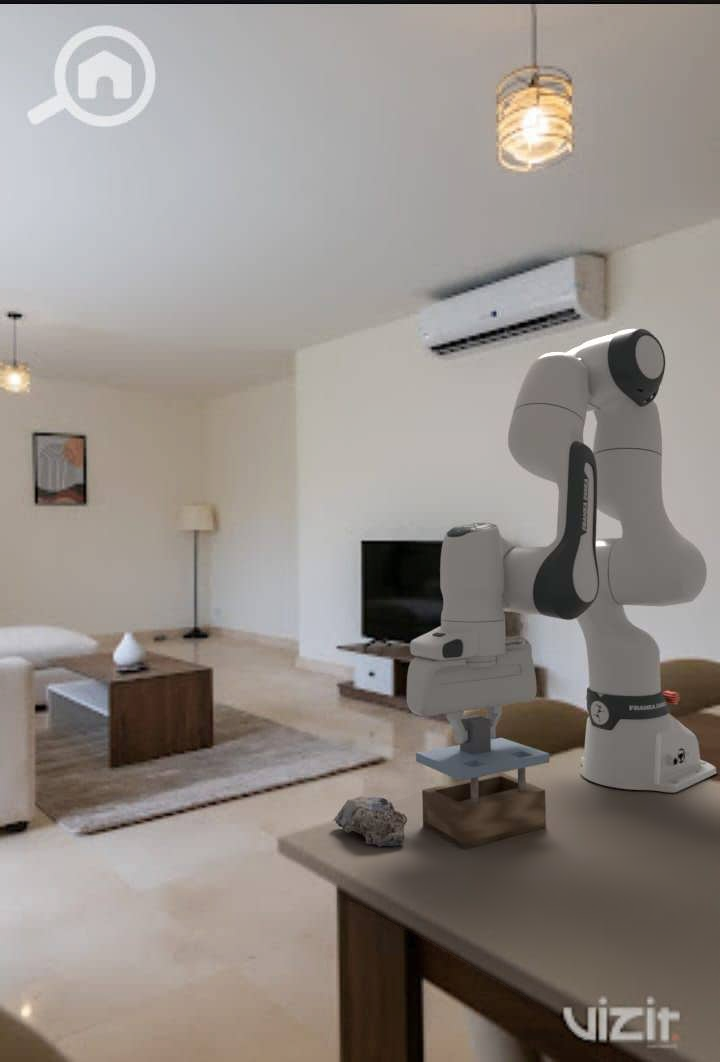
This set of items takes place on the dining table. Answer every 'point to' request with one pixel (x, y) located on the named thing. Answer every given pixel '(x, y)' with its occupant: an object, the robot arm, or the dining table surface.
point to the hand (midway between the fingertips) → (475, 740)
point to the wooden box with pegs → (484, 809)
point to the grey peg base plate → (481, 754)
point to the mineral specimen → (373, 820)
